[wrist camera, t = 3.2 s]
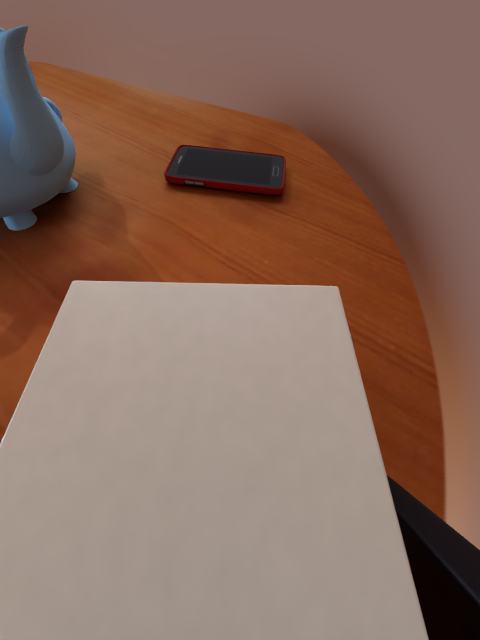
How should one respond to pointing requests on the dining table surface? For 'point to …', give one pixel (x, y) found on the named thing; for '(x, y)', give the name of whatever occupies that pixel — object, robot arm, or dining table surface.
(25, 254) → the dining table surface
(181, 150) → the cell phone
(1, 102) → the teapot
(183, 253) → the dining table surface
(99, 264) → the dining table surface
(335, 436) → the cream block
